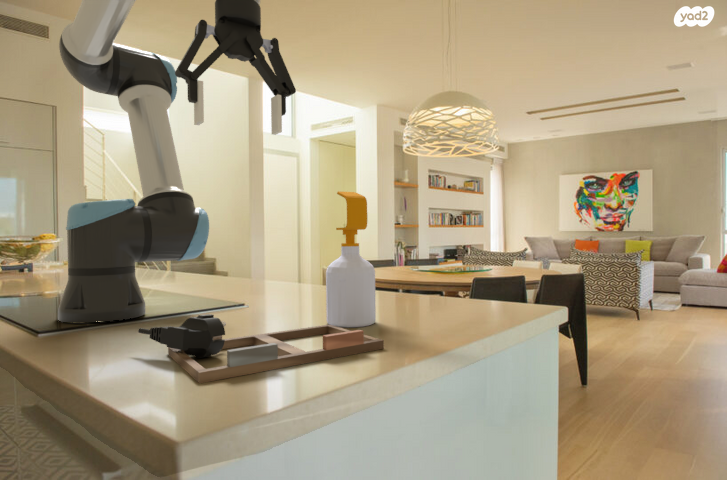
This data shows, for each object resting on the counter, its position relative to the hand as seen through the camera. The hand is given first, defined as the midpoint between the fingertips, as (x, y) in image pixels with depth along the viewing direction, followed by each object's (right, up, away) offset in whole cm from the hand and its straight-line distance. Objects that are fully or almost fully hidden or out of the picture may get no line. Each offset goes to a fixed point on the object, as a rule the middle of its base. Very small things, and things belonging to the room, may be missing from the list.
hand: (239, 128), depth 79 cm
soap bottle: (+19, -35, +7) cm, 40 cm away
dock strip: (+9, -35, -14) cm, 38 cm away
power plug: (-9, -32, -12) cm, 35 cm away
